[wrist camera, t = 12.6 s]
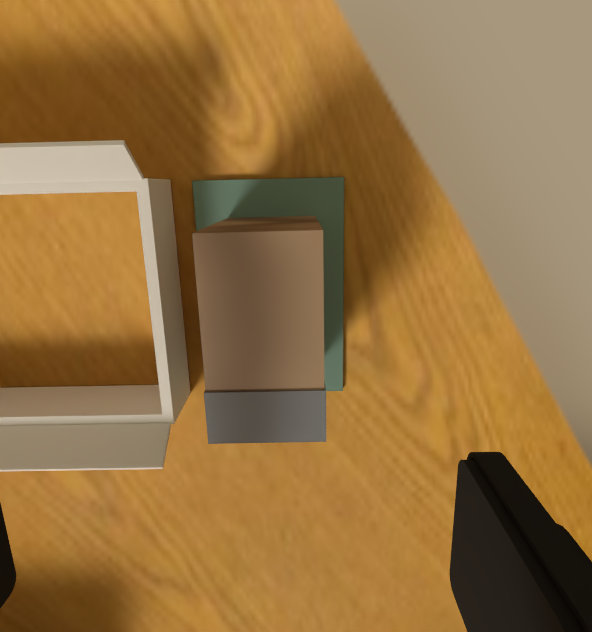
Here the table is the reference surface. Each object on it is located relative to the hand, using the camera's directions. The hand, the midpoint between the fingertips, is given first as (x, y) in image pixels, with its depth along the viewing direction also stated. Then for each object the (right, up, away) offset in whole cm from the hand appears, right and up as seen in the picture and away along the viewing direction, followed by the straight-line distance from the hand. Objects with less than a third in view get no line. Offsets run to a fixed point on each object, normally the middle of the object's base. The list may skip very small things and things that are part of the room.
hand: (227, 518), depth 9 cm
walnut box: (0, +5, +18) cm, 19 cm away
